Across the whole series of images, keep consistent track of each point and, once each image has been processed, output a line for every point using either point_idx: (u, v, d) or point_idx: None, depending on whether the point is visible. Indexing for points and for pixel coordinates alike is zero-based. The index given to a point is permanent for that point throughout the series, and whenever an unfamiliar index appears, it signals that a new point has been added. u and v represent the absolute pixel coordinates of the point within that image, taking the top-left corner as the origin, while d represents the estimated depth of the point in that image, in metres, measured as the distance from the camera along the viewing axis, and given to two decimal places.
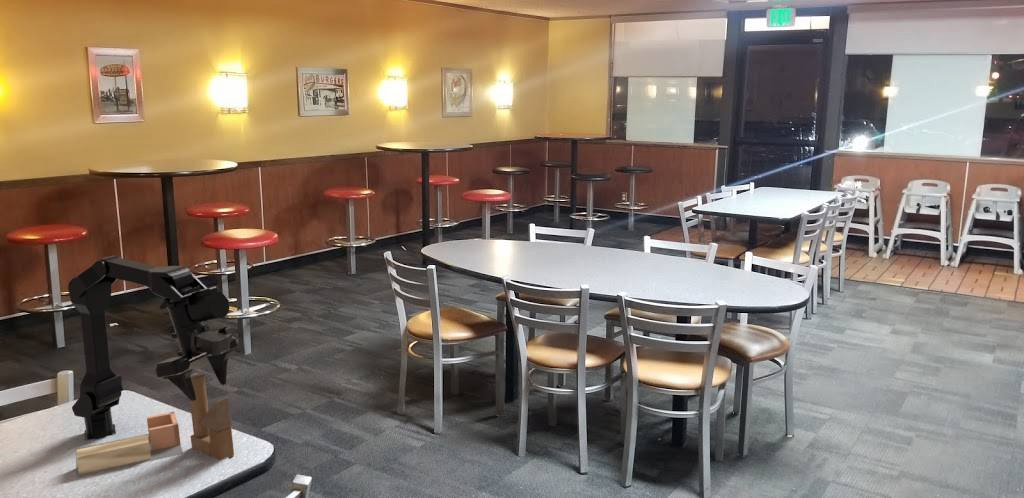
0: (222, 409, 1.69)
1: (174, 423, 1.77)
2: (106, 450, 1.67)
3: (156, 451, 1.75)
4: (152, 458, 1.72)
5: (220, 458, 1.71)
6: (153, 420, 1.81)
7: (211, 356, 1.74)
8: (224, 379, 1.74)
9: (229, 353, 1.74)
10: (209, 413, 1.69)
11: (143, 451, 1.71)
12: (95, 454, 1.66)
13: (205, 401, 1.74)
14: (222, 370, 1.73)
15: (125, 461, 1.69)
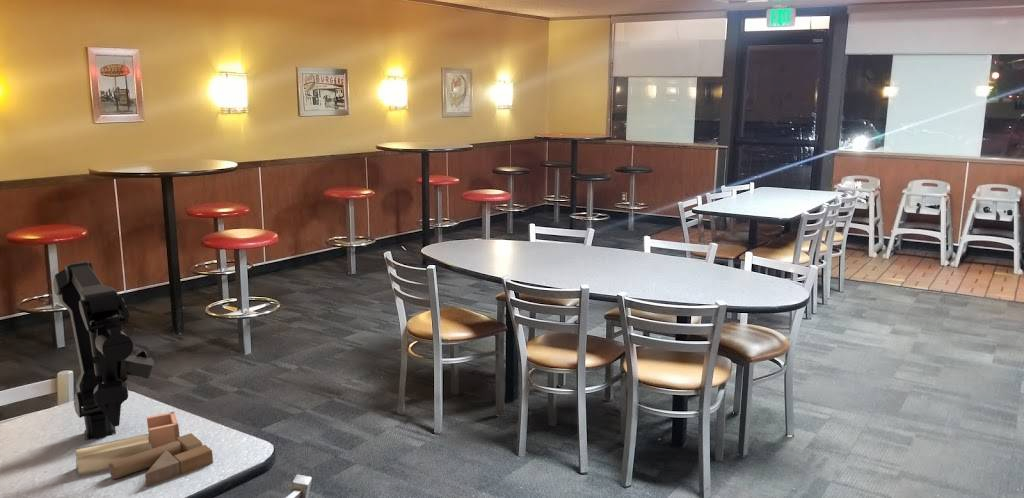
0: (157, 477, 1.61)
1: (174, 423, 1.77)
2: (106, 450, 1.67)
3: None
4: None
5: None
6: (153, 420, 1.81)
7: None
8: None
9: None
10: None
11: (143, 451, 1.71)
12: (95, 454, 1.66)
13: (144, 461, 1.66)
14: None
15: None
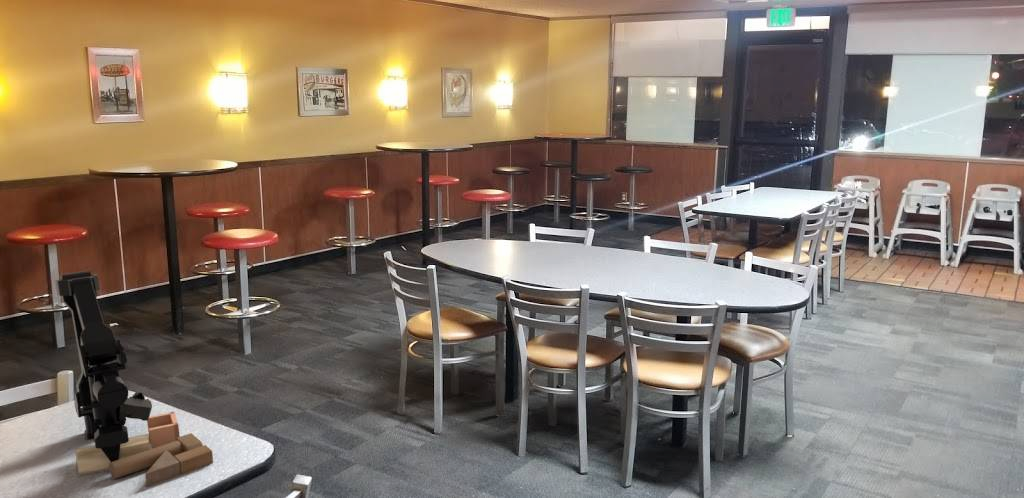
0: (157, 477, 1.61)
1: (174, 423, 1.77)
2: None
3: None
4: None
5: None
6: (153, 420, 1.81)
7: None
8: None
9: None
10: None
11: (143, 451, 1.71)
12: (95, 454, 1.66)
13: (144, 461, 1.66)
14: None
15: None
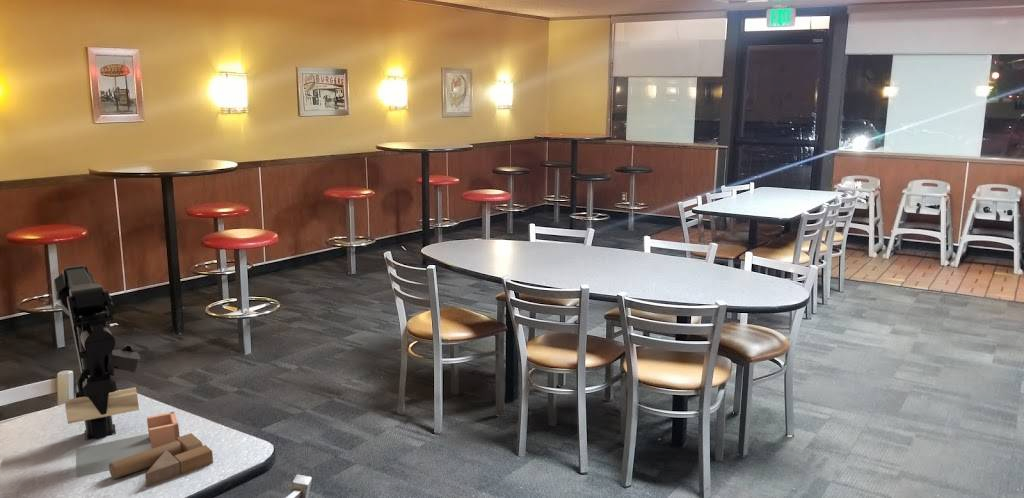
0: (157, 477, 1.61)
1: (174, 423, 1.77)
2: None
3: None
4: None
5: None
6: (153, 420, 1.81)
7: None
8: None
9: None
10: None
11: (131, 403, 1.73)
12: (83, 403, 1.68)
13: (144, 461, 1.66)
14: None
15: (113, 412, 1.72)
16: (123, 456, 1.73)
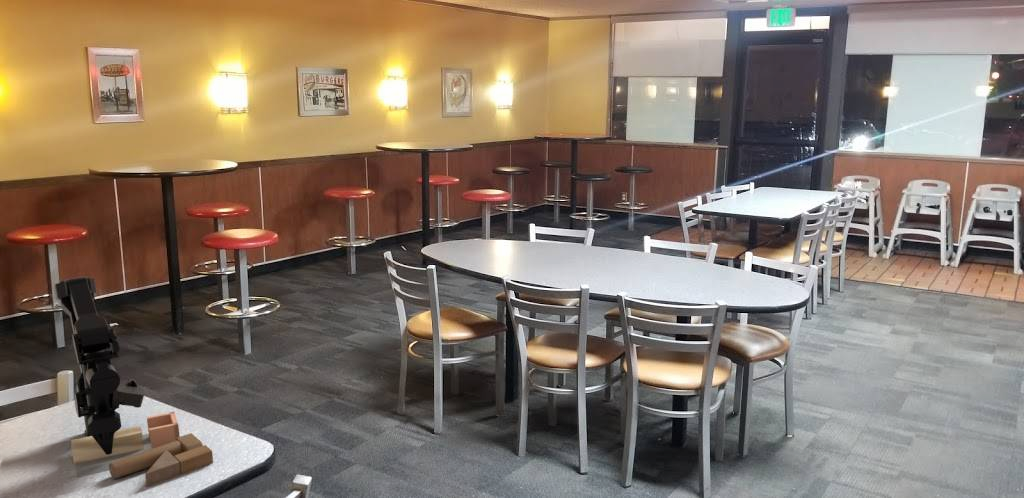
0: (157, 477, 1.61)
1: (174, 423, 1.77)
2: None
3: None
4: None
5: None
6: (153, 420, 1.81)
7: None
8: None
9: None
10: None
11: (136, 442, 1.75)
12: (89, 443, 1.71)
13: (144, 461, 1.66)
14: None
15: (118, 451, 1.74)
16: (123, 456, 1.73)
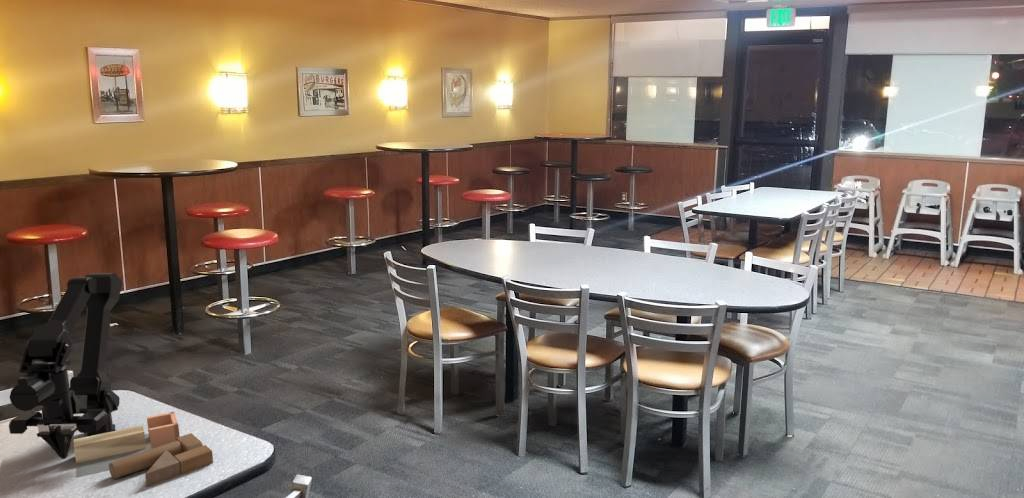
0: (157, 477, 1.61)
1: (174, 423, 1.77)
2: (102, 439, 1.72)
3: None
4: None
5: None
6: (153, 420, 1.81)
7: (52, 432, 1.67)
8: None
9: None
10: None
11: (138, 441, 1.76)
12: (91, 443, 1.71)
13: (144, 461, 1.66)
14: None
15: (121, 450, 1.74)
16: (123, 456, 1.73)
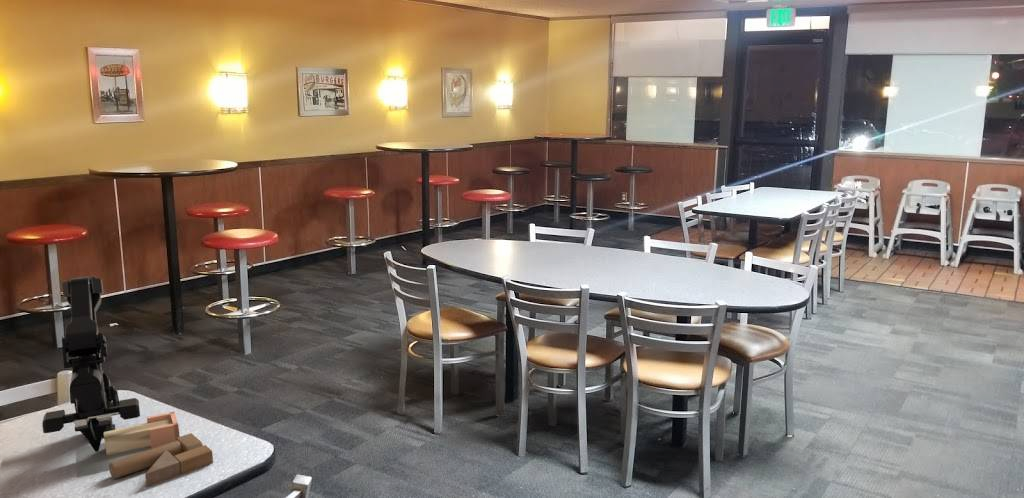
0: (157, 477, 1.61)
1: (174, 423, 1.77)
2: (132, 432, 1.76)
3: None
4: None
5: None
6: (153, 420, 1.81)
7: (90, 425, 1.70)
8: None
9: None
10: None
11: None
12: (121, 435, 1.74)
13: (144, 461, 1.66)
14: (94, 435, 1.73)
15: (150, 443, 1.78)
16: (123, 456, 1.73)
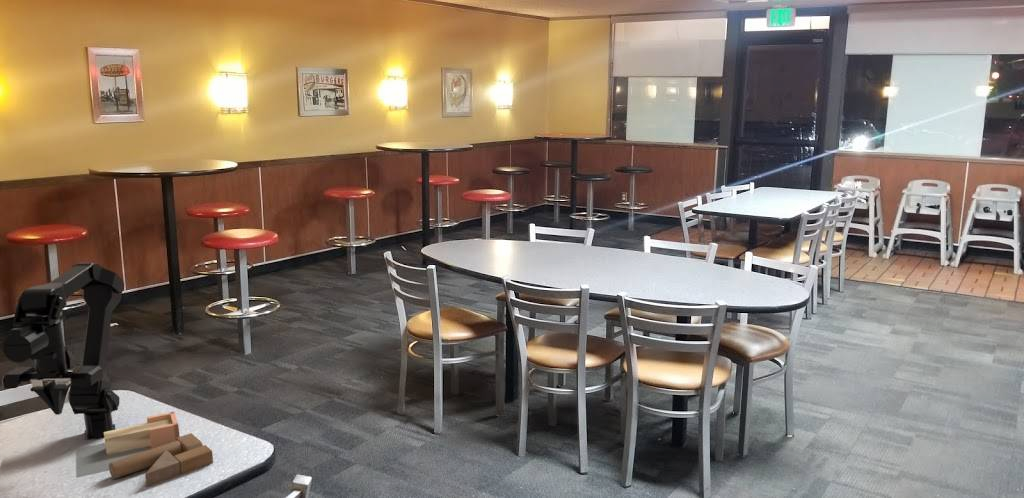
0: (157, 477, 1.61)
1: (174, 423, 1.77)
2: (132, 432, 1.76)
3: None
4: None
5: None
6: (153, 420, 1.81)
7: (46, 387, 1.65)
8: None
9: None
10: None
11: None
12: (121, 435, 1.74)
13: (144, 461, 1.66)
14: None
15: (150, 443, 1.78)
16: (123, 456, 1.73)
